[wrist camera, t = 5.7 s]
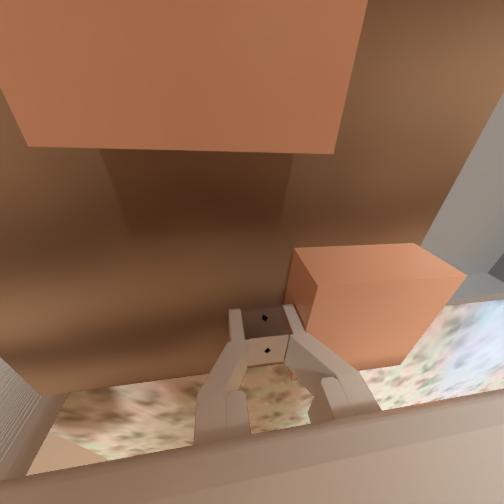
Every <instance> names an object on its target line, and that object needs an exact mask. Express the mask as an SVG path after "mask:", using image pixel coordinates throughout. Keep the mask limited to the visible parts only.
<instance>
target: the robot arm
mask: <svg viewBox="0 0 504 504" xmlns="http://www.w3.org/2000/svg"><path fill="white" fill-rule="evenodd" d="M283 361H284V363H285V364H286V365H287V366H288V367H289V369H290V370H291V371H292V372H293V373H294V374H295V375H296V377H297V378H298V379H299V380H300V381H301V382H302V383H303V385H304V386H305V387H306V388H307V389H308V390H309V391H310V393H311V394H312V395H313V396H314V399H313V401H312V404H311V406H310V408H309V411H308V415H309V418H310V422H311V424H307V425H302V426H296V427H291V428H285V429H280V430H274V431H269V432H263V433H258V434H252V435H251V431H250V423H249V415H248V407H247V400H246V393H244V392H243V391H242V390H239V387H240V385H241V382H242V379H243V377H244V374H245V372H246V369H247V366H251V365H258V364H264V363H273V362H283ZM0 504H504V389H499V390H493V391H488V392H482V393H477V394H471V395H466V396H460V397H455V398H449V399H444V400H439V401H433V402H428V403H422V404H417V405H411V406H406V407H400V408H395V409H389V410H384V411H382V410H381V409H380V407H379V405H378V404H377V402H376V400H375V398H374V397H373V395H372V393H371V391H370V390H369V388H368V386H367V385H366V383H365V381H364V379H363V378H362V376H361V374H360V373H359V371H357V370H356V369H355V368H353V367H352V366H351V365H350V364H348V363H347V362H346V361H344V360H343V359H342V358H341V357H339V356H338V355H337V354H335V353H334V352H333V351H332V350H330V349H329V348H328V347H326V346H325V345H324V344H323V343H321V342H320V341H319V340H318V339H316V338H315V337H314V336H312V335H311V334H310V333H306V332H305V330H304V328H303V325H302V323H301V321H300V319H299V316H298V314H297V312H296V310H295V307H294V305H293V304H285V305H273V306H263V307H252V308H238V309H229V342H227V344H226V346H225V348H224V349H223V351H222V353H221V354H220V356H219V358H218V360H217V361H216V363H215V365H214V366H213V368H212V370H211V372H210V373H209V375H208V377H207V379H206V380H205V382H204V384H203V385H202V387H201V389H200V391H199V392H198V394H197V400H196V415H195V430H194V445H192V446H187V447H181V448H176V449H170V450H165V451H159V452H154V453H149V454H143V455H138V456H132V457H127V458H121V459H116V460H110V461H105V462H99V463H94V464H88V465H83V466H78V467H72V468H67V469H61V470H56V471H50V472H45V473H39V474H34V475H29V476H23V477H17V478H12V479H6V480H1V481H0Z"/></svg>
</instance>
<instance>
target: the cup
mask: <svg viewBox="0 0 504 504" xmlns="http://www.w3.org/2000/svg"><path fill="white" fill-rule="evenodd" d="M69 393H70V392H68V393H61V394H54V395H46V396H40V395H39V394H38V393H37V392H36V391H35V390H34V389H33V388H32V387H31V386H30V385H29V384H28V383H27V382H26V381H25V380H24V379H23V378H22V377H21V376H20V375H18V374H17V373H16V372H15V371H14V370H13V369H12V368H11V367H10V366H9V365H8V364H7V363H6V362H5V361H4V360H3V359H2V358H1V357H0V481H1V480H6V479H12V478H17V477H23V476H26V474H27V472H28V470H29V468H30V466H31V464H32V462H33V461H34V459H35V457H36V455H37V453H38V451H39V449H40V447H41V446H42V444H43V442H44V440H45V438H46V436H47V434H48V432H49V431H50V429H51V427H52V425H53V423H54V421H55V419H56V417H57V415H58V414H59V412H60V410H61V408H62V406H63V404H64V402H65V400H66V398H67V397H68V395H69Z"/></svg>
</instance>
